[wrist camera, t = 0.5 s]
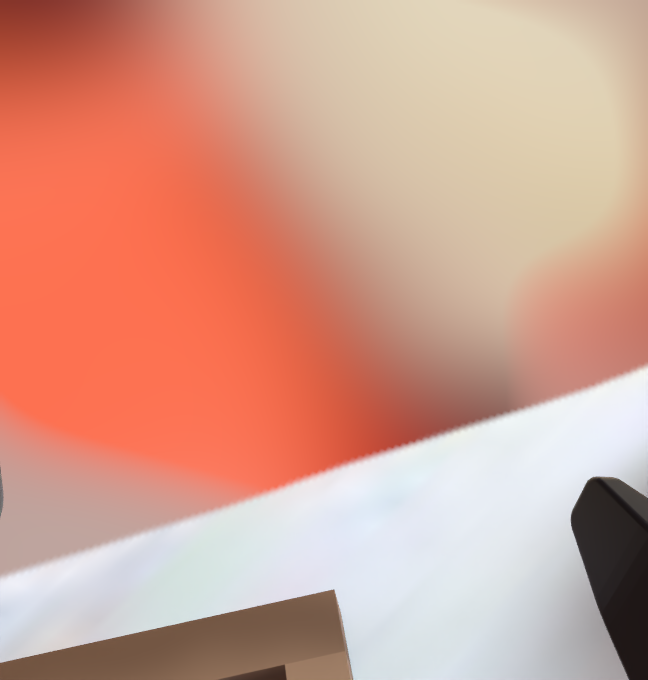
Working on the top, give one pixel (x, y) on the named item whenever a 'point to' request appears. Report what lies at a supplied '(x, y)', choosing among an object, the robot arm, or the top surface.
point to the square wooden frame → (211, 648)
